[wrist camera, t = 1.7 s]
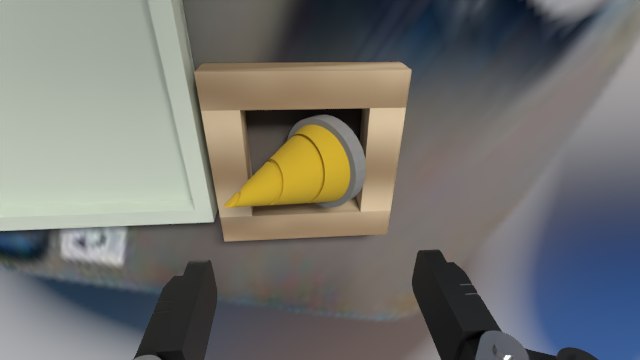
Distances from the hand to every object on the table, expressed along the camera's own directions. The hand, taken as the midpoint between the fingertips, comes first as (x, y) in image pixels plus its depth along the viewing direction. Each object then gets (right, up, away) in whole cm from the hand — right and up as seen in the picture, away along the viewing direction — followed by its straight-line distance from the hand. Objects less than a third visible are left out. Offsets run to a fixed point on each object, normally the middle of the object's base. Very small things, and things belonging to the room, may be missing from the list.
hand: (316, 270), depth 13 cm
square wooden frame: (-1, +5, +8) cm, 10 cm away
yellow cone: (-1, +6, +9) cm, 10 cm away
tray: (-15, +8, +5) cm, 18 cm away
